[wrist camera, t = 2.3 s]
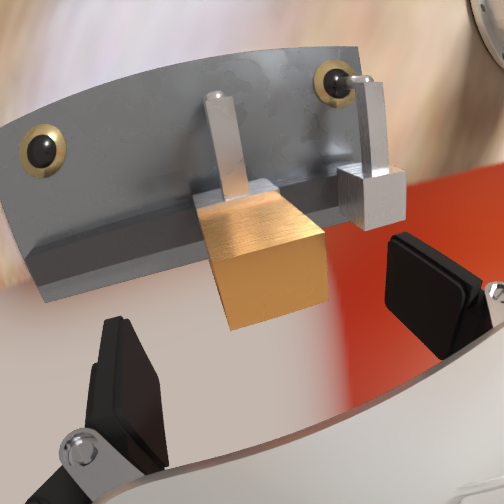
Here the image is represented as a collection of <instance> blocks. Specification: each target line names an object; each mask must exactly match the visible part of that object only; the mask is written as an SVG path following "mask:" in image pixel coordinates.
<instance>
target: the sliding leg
mask: <svg viewBox="0 0 504 504" xmlns="http://www.w3.org/2000/svg"><path fill="white" fill-rule="evenodd" d="M202 103H203V105H204V109H205V114H206V119H207V124H208V129H209V134H210V139H211V144H212V149H213V154H214V159H215V164H216V169H217V174H218V179H219V184H220V188H219V189H215V190H211V191H207V192H203V193H199V194H195V195H192V196H193V200H194V204H195V208H196V212H197V217H198V221H199V225H200V229H201V233H202V237H203V241H204V244H205V248H206V252H207V256H208V259H209V263H210V266H211V269H212V273H213V276H214V279H215V282H216V285H217V289H218V292H219V295H220V299H221V302H222V305H223V308H224V311H225V315H226V318H227V321H228V324H229V327H230V330H235V329H238V328H242V327H246V326H249V325H252V324H256V323H259V322H263V321H266V320H269V319H273V318H276V317H279V316H282V315H286V314H289V313H291V312H295V311H298V310H301V309H305V308H307V307H310V306H314V305H317V304H320V303H323V302H325V301H328V277H327V276H328V275H327V258H326V257H327V255H326V239H325V232H324V231H323V230H322V229H321V228H320V227H318V226H317V225H316V224H315V223H314V222H312V221H311V220H310V219H309V218H308V217H307V216H305V215H304V214H303V213H302V212H301V211H299V210H298V209H297V208H296V207H295V206H293V205H292V204H291V203H290V202H288V201H287V200H286V199H285V198H284V197H282V196H281V195H280V189H279V188H278V187H276V186H275V185H274V184H272V183H271V182H270V181H268V180H267V179H266V178H262V179H258V180H254V181H249V182H248V180H247V174H246V169H245V163H244V157H243V152H242V146H241V141H240V135H239V129H238V124H237V118H236V113H235V107H234V102H233V96H229V97H226V95H225V94H224V93H223V92H222V91H220V90H215V91H213V92H210V93H207V94H205V95H204V96H203V98H202Z"/></svg>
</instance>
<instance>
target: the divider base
mask: <svg viewBox="0 0 504 504" xmlns="http://www.w3.org/2000/svg"><path fill="white" fill-rule="evenodd" d="M215 90H220V91H222V92H223V93H224V94H225V95H226V97H229V96H233V102H234V107H235V113H236V118H237V124H238V129H239V135H240V141H241V146H242V152H243V157H244V163H245V169H246V174H247V180H248V182H249V181H254V180H258V179H262V178H266V179H267V180H268V181H270V182H271V183H272V184H274V185H275V186H276V187H278V188H279V189H280V195H281V196H282V197H284V198H285V199H286V200H287V201H288V202H290V203H291V204H292V205H293V206H295V207H296V208H297V209H298V210H299V211H301V212H302V213H303V214H304V215H305V216H307V217H308V218H309V219H310V220H311V221H312V222H314V223H315V224H316V225H317V226H318V227H320V228H321V229H322V228H326V227H330V226H333V225H337V224H341V223H345V222H349V221H351V222H352V223H354V224H355V225H357V226H358V227H360V228H361V229H362V230H364V231H367V230H371V229H374V228H377V227H381V226H385V225H388V224H392V223H395V222H399V221H402V220H405V219H406V170H403V169H400V168H397V167H395V166H392V165H389V159H388V139H387V124H386V112H385V101H384V92H383V83H382V82H374V80H373V78H372V77H371V76H369V75H363V76H362V72H361V65H360V58H359V52H358V47H346V46H327V47H298V48H282V49H270V50H260V51H251V52H243V53H235V54H228V55H221V56H215V57H209V58H204V59H198V60H193V61H188V62H183V63H179V64H174V65H170V66H165V67H161V68H157V69H153V70H149V71H145V72H142V73H138V74H134V75H131V76H127V77H124V78H121V79H117V80H114V81H111V82H108V83H105V84H102V85H99V86H96V87H93V88H90V89H87V90H85V91H82V92H79V93H76V94H74V95H71V96H69V97H66V98H64V99H61V100H59V101H56V102H54V103H51V104H49V105H47V106H44V107H42V108H40V109H38V110H35V111H33V112H31V113H29V114H27V115H25V116H22V117H20V118H18V119H16V120H14V121H12V122H10V123H8V124H6V125H4V126H3V127H1V128H0V200H1V203H2V206H3V209H4V211H5V214H6V217H7V219H8V222H9V225H10V227H11V230H12V232H13V235H14V237H15V240H16V242H17V245H18V247H19V249H20V252H21V254H22V256H23V258H24V261H25V263H26V265H27V267H28V269H29V272H30V274H31V276H32V278H33V280H34V282H35V284H36V286H37V288H38V290H39V292H40V294H41V296H42V298H43V300H44V302H45V303H48V302H51V301H55V300H59V299H62V298H66V297H70V296H73V295H77V294H80V293H84V292H88V291H91V290H95V289H98V288H102V287H106V286H110V285H113V284H117V283H121V282H125V281H128V280H132V279H135V278H139V277H143V276H147V275H150V274H154V273H158V272H161V271H165V270H169V269H173V268H176V267H180V266H184V265H187V264H191V263H195V262H199V261H202V260H206V259H208V256H207V252H206V248H205V244H204V241H203V237H202V233H201V229H200V225H199V221H198V217H197V212H196V208H195V204H194V200H193V196H192V195H195V194H199V193H203V192H207V191H211V190H215V189H219V188H220V184H219V179H218V174H217V169H216V164H215V159H214V154H213V149H212V144H211V139H210V134H209V129H208V124H207V119H206V114H205V109H204V105H203V103H202V98H203V96H204V95H205V94H207V93H210V92H213V91H215Z"/></svg>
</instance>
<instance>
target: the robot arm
mask: <svg viewBox="0 0 504 504" xmlns="http://www.w3.org/2000/svg"><path fill="white" fill-rule="evenodd" d="M470 1H471V6H472V11H473V14H474V18H475V21H476V24H477V27H478V29H479V32H480V34H481V36H482V39H483V41H484V43H485V45H486V47H487V48H488V50H489V52H490V54H491V55H492V56H493V58H494V59H495V61H496V62H497V63H498V64H499V65H500V67H502V68H503V69H504V0H470ZM482 282H483V281H482V280H481V279H480V278H478V277H477V276H475V275H474V274H472V273H471V272H469V271H468V270H466V269H465V268H463V267H462V266H460V265H459V264H457V263H456V262H454V261H453V260H451V259H449V258H448V257H446V256H445V255H443V254H442V253H440V252H439V251H437V250H435V249H434V248H432V247H431V246H429V245H427V244H426V243H424V242H422V241H421V240H419V239H417V238H416V237H414V236H413V235H411V234H409V233H407V232H402V233H399V234H396V235H393V236H392V237H391V239H390V241H389V242H388V253H387V272H386V287H385V304H386V307H387V308H388V309H389V310H390V311H391V312H392V313H393V314H394V315H395V316H396V317H397V318H398V319H399V320H400V321H401V322H402V323H403V324H404V325H405V326H406V327H407V328H408V329H409V330H410V331H411V332H413V333H414V335H416V336H417V337H418V338H419V339H420V340H421V341H422V342H423V343H424V344H425V345H426V346H427V347H428V348H429V349H430V350H431V351H432V352H433V353H434V354H435V356H436V357H438V359H440V360H443V361H442V362H440V363H438V364H437V365H435V366H434V367H432V368H430V369H428V370H427V371H425V372H423V373H421V374H420V375H418V376H416V377H414V378H413V379H411V380H409V381H407V382H405V383H403V384H402V385H400V386H398V387H396V388H394V389H392V390H390V391H388V392H386V393H384V394H382V395H380V396H378V397H376V398H374V399H372V400H370V401H368V402H366V403H364V404H362V405H360V406H357V407H355V408H353V409H351V410H349V411H346V412H344V413H342V414H339V415H337V416H335V417H332V418H330V419H328V420H325V421H323V422H321V423H318V424H315V425H313V426H310V427H308V428H305V429H303V430H300V431H298V432H295V433H292V434H289V435H286V436H283V437H281V438H278V439H275V440H272V441H269V442H266V443H263V444H260V445H257V446H253V447H250V448H247V449H243V450H240V451H237V452H233V453H230V454H226V455H223V456H219V457H215V458H211V459H208V460H204V461H200V462H195V463H191V464H187V465H183V466H180V467H176V468H171V469H167V470H165V469H164V467H168V466H169V460H168V454H167V445H166V438H165V430H164V421H163V412H162V403H161V392H160V383H159V379H158V376H157V374H156V372H155V370H154V368H153V366H152V364H151V362H150V361H149V359H148V357H147V355H146V353H145V351H144V349H143V347H142V345H141V343H140V341H139V339H138V337H137V335H136V333H135V331H134V329H133V327H132V324H131V322H130V320H129V319H123V317H122V316H118V317H114V318H110V319H106V320H105V321H104V325H103V331H102V337H101V343H100V349H99V357H98V363H94V364H93V366H92V369H91V376H90V384H89V392H88V400H87V409H86V419H85V428H80V429H77V430H74V431H72V432H71V433H69V434H68V435H67V436H66V437H65V438H64V440H63V441H62V443H61V445H60V449H59V458H60V461H61V463H62V466H61V467H60V468H59V469H58V470H57V471H56V472H55V473H54V474H53V475H52V476H51V477H50V478H49V479H48V480H47V481H46V482H45V483H44V484H43V485H42V486H41V487H40V488H39V489H38V490H37V491H36V492H35V493H34V494H33V495H32V496H31V497H30V498H29V499H28V500H27V501H26V503H25V504H504V282H499V281H497V282H491V283H489V284H487V285H486V287H485V290H484V291H483V290H482V289H481V285H482Z"/></svg>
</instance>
